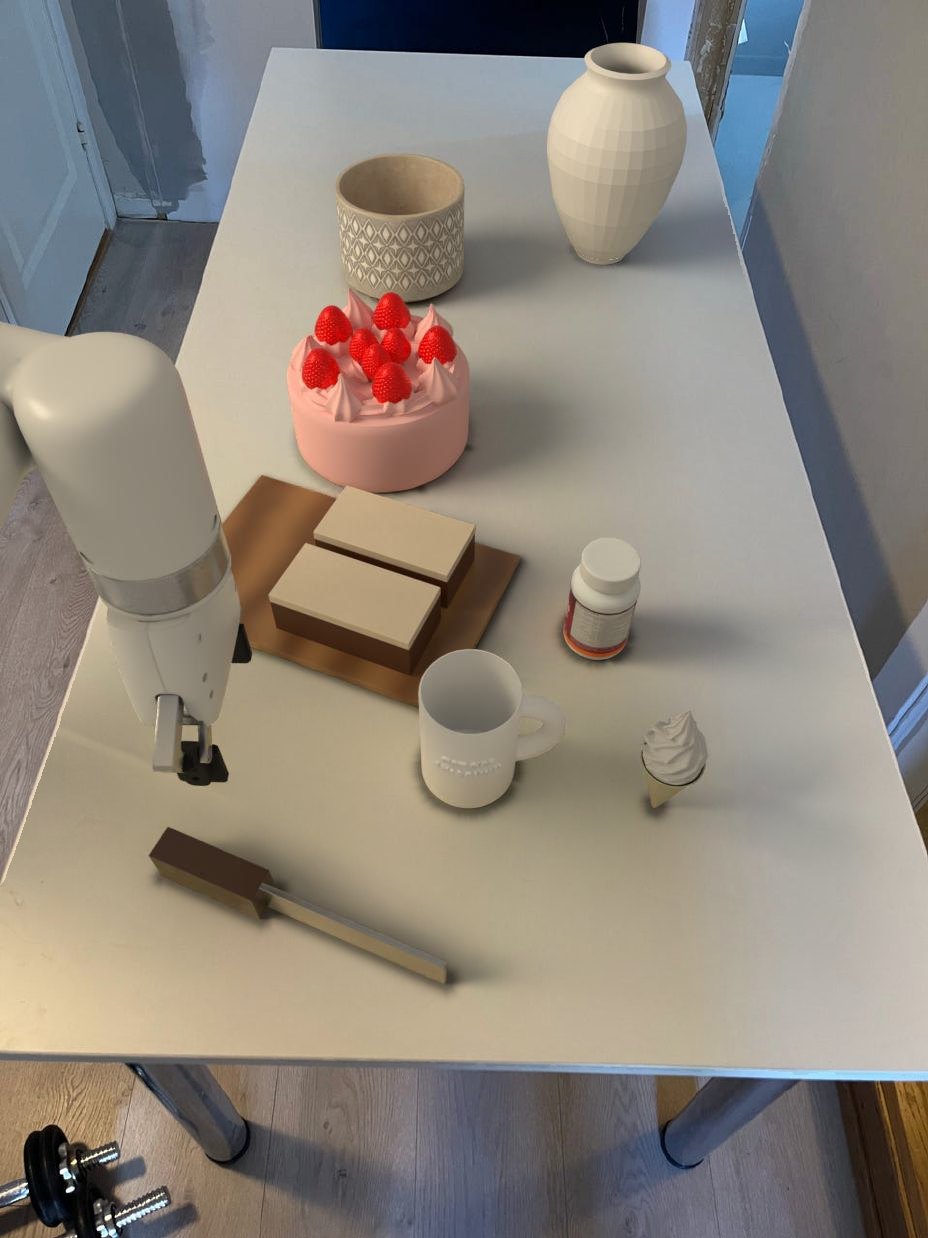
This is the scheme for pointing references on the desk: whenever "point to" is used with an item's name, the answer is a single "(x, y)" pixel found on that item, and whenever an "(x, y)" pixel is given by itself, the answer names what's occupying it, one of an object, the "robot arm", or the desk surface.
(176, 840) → the knife
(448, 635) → the cake board
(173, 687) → the robot arm
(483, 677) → the mug
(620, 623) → the pill bottle
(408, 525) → the cake
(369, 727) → the desk surface
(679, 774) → the ice cream cone
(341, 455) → the cake
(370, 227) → the planter
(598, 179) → the vase
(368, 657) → the cake
